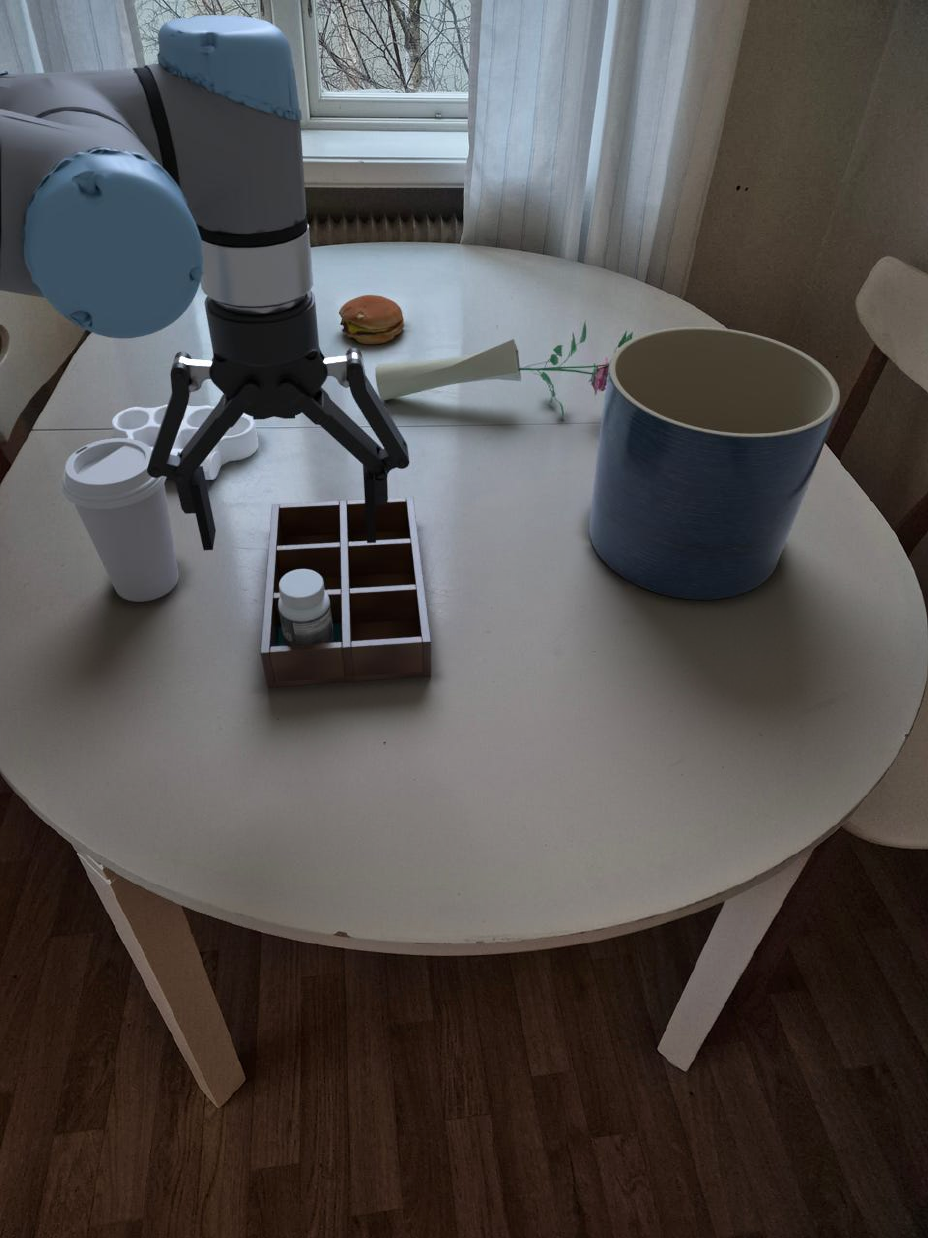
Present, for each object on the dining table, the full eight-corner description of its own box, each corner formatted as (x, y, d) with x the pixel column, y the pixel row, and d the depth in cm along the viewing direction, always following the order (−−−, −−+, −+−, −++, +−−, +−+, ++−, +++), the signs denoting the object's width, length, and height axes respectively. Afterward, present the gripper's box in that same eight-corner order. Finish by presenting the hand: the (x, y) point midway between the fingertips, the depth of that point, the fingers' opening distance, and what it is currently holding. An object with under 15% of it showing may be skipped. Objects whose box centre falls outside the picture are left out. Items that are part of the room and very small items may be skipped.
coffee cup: (168, 541, 96) (136, 422, 85) (209, 586, 90) (180, 465, 80) (84, 576, 91) (39, 455, 81) (122, 625, 86) (79, 502, 76)
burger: (405, 319, 138) (404, 290, 135) (402, 346, 131) (401, 316, 128) (343, 318, 138) (341, 289, 134) (337, 345, 131) (334, 315, 128)
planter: (545, 524, 99) (562, 362, 86) (677, 463, 109) (712, 309, 95) (688, 633, 87) (736, 464, 73) (823, 553, 97) (887, 390, 83)
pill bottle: (283, 634, 84) (272, 569, 79) (331, 627, 85) (324, 562, 79) (287, 669, 81) (276, 603, 75) (337, 661, 82) (330, 596, 76)
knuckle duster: (92, 479, 104) (136, 417, 115) (238, 489, 103) (269, 425, 114) (84, 455, 102) (129, 394, 112) (234, 465, 101) (265, 402, 111)
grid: (267, 687, 80) (260, 653, 77) (277, 537, 97) (271, 503, 94) (431, 675, 82) (431, 641, 79) (413, 529, 98) (413, 496, 95)
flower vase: (401, 433, 127) (642, 397, 121) (385, 455, 116) (648, 416, 110) (384, 351, 122) (634, 309, 116) (365, 366, 111) (640, 320, 105)
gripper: (435, 268, 63) (432, 505, 78) (81, 272, 60) (147, 516, 75) (445, 311, 58) (440, 557, 72) (57, 318, 55) (133, 572, 70)
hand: (291, 537), depth 74 cm, fingers open, 13 cm apart
